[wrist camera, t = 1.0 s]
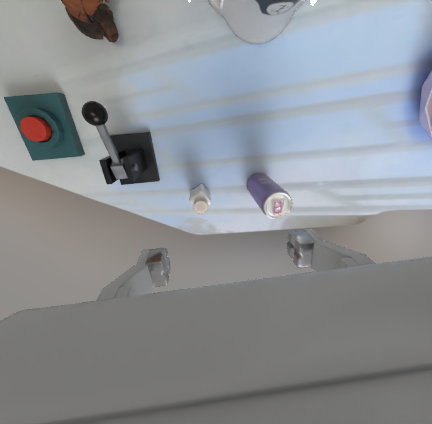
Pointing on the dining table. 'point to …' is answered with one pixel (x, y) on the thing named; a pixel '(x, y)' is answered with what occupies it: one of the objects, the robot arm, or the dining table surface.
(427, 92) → the fruit bowl
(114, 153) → the lever handle
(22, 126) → the button
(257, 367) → the robot arm
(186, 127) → the dining table surface
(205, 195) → the pepper shaker
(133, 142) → the lever stand
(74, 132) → the teal base plate
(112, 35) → the brown clay jug
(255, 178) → the beverage can
